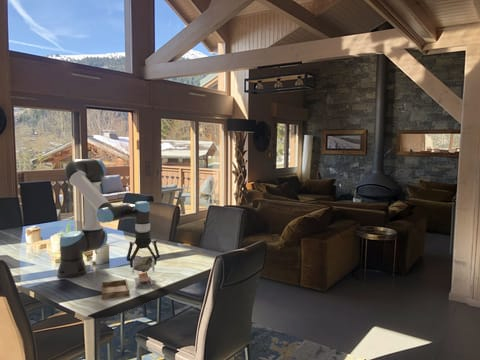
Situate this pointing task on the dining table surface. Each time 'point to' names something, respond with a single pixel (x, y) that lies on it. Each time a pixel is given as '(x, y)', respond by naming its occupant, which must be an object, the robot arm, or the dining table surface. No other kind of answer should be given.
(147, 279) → the checker pad
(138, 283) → the checker base
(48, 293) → the dining table surface
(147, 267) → the rock
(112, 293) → the tray
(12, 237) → the dining table surface
